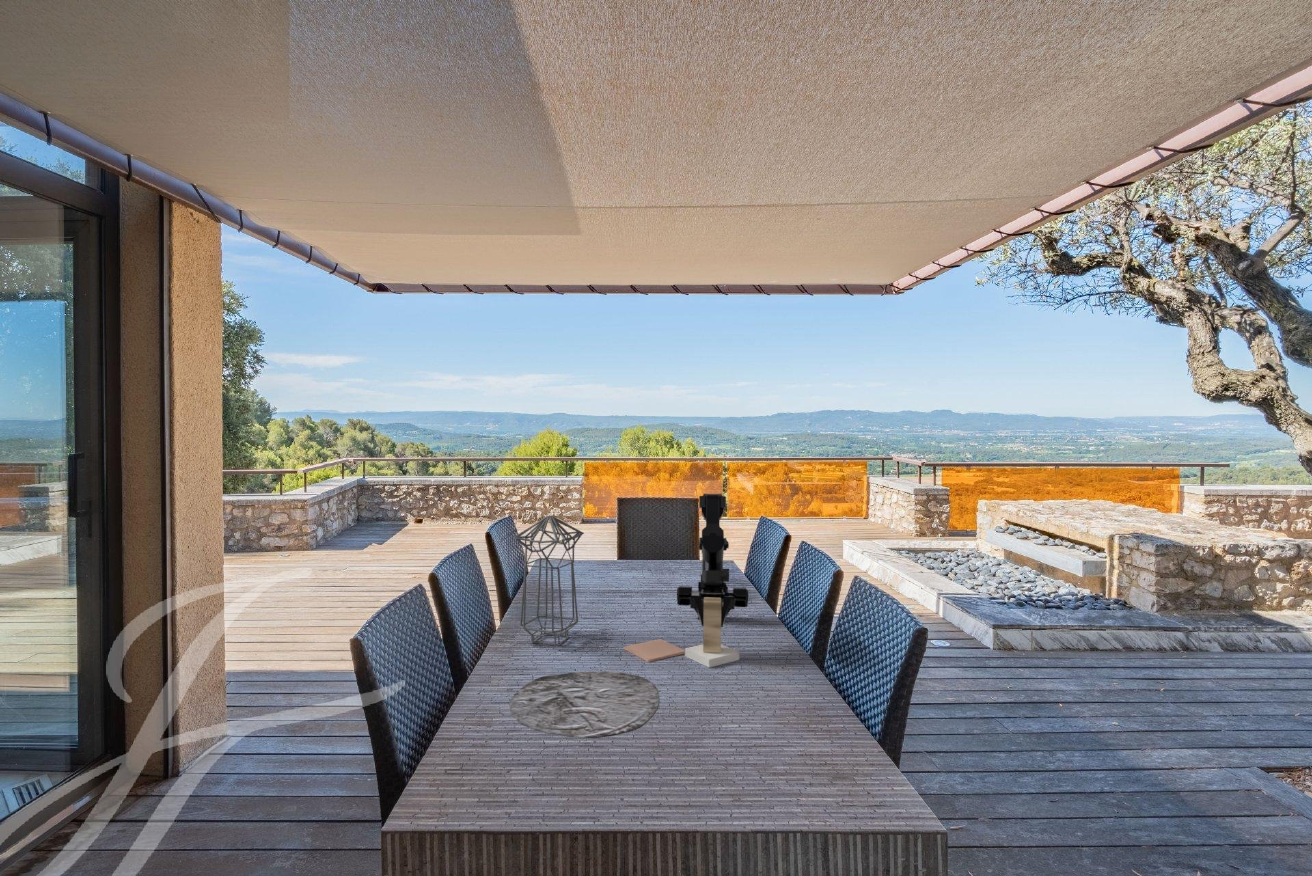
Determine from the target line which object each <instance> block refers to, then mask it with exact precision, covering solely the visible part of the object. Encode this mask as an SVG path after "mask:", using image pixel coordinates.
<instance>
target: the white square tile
mask: <svg viewBox="0 0 1312 876" xmlns="http://www.w3.org/2000/svg"><path fill="white" fill-rule="evenodd" d="M684 650H685V654H684V656H685V657H686V658H688V659H691V660H693V661H695V662H697V663H699V664H701V665H703V666H705V667H707V668H712V667H717V666H720V665H725V664H729V663H733V662H735V661H740V651H738V650H736V649H733V648H731V647H729V646H726V645H724V644H722V643H721V653H713V652H703V644H699V645H695V646H690V647H686V648H684Z"/></svg>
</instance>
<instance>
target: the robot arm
mask: <svg viewBox="0 0 1312 876" xmlns="http://www.w3.org/2000/svg"><path fill="white" fill-rule="evenodd" d="M702 494H703V495H699V496H698V497H699V499H698V501H699V503H698V504H699V505H698V507H699V509H701V516H702V517H703V519H704V521H705V526H704V528H702V530H701V537H700V536H699V539H698V550H699V551H701V554H702V555H701V556H702V557H701V560H702V562H701V574H700V581H698V582H697V583H698V585H697V586H698V589H697V590H695V589H694V590H693V586H684V585H683V586H682V585H681V586H680V585H679V586H678V587H677V588H676V601H677V605H678V606H683V607H684V606H686V607H690V608H691V609H694V611H695V613H696V614H697V618H696V619H697V620H699V622H700V625H701V627H703V624H704V597H714V598H721V628H722V627H724V624H725V622H726V621H727V617H728V615H729V613H730V612H731V610H735V607H736V608H747V607H748V605H749V590H748V588H746V587H733V588H732V592H729V587H728V585H727V584H726V583H729V582H730V569H729V568H724V554H725V553H724V551H727V549H729V548H730V547H729V546H730V545H729V541H728V540H727V537H725V535H724V533H725V532H724V531H725V530H724V529H722V527H720V521H721V519H722V517H723V516H724V513H725V512H724V511H725V510H724V509H727V495H726V496H724V495H723V494H722V493H702Z"/></svg>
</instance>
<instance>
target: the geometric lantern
mask: <svg viewBox="0 0 1312 876" xmlns="http://www.w3.org/2000/svg"><path fill="white" fill-rule="evenodd" d="M548 522H549V523H550V526H551V527H550V528H551V530H547V529H546V528H547V526H548ZM562 525H563V526H565V527H568V528H569V529H571V530H573V531H568V530H566V529H565V528H564V527H563V526H562ZM527 532H528V533H527ZM540 532H541V536H540V538H539V540H535V538H536V537H537V535H538V534H539V533H540ZM526 533H527V534H526ZM524 534H525V535H524ZM550 534H553V535H554V537H552V536H551V535H550ZM572 534H573V535H572ZM584 534H585V533H584V532H583V531H581V530H579V529H578V528H575V527H573V526H572V525H570V524H568V523H566V522H565V521H562V520H561V519H559V518H557V517H555V516H553V515H546V516H545V517H544V518H542V519H540V520H538V521H537V522H535V523H534V524H533V525H531V526H529V527H528V528H526V529H525V530H523V531H521V532H520V533H518V534H516V535H514V537H513V539H514V540H516V542H518V543H519V544H521V546H523V547H524V552H525V553H524V570H523V582H522V584H523V585H522V594H521V608H520V623H519V627H520V629H522V630H524V631H525V632H526V633H527V634H529V635H530V637H531V638H530V642H531V643H532V644H541V645H550V646H559V645H561V644H562V643H564V642H565V641H566V640H568V639H569V638H570V637H569V631H570V630H571V629H572V628H573V627H575V625H577V624H578V623H579V614H578V604H577V603H578V602H577V592H576V591H577V590H576V581H575V579H576V578H575V569H574V566H575V565H574V564H575V547H576V546H575V545H576V544H577V542H579V540H580V539H581V537H582V536H583V535H584ZM544 535H546V536H547V537H548V538H549V539H551V540H543V537H544ZM560 536H561V540H560ZM570 541H572V545H571V544H570ZM527 542H529V544H527ZM534 543H535V544H536V543H537V544H538V548H539V549H536V547H535V546H534ZM546 543H548V544H547V545H546V546H544V547H543V548H542V547H541V544H546ZM549 543H550V544H549ZM557 544H560V545H563V548H564V549H565V551H564V552H563V555H562V556H561V558H554V557H553V558H551V557H550V556H551V554H552V552H553V551H554V549H555V547H556V546H557ZM570 545H571V546H570ZM551 546H552V548H551V550H550V551H549V553H548V554H546V553H545V550H546V549H549V547H551ZM567 546H568V547H567ZM570 550H572V555H571V554H570V552H569V551H570ZM528 551H529V552H530V554H529V556H528ZM533 553H536V554H537V556H538V557H539V558H537V559H534V560H531V561H530V559H531V557H532V554H533ZM540 553H542V555H543V557H542V556H541V554H540ZM566 553H567V554H568V556H569V557H568V558H569V559H566V558H565V556H566ZM550 560H554V561H559V563H558V564H557V566H553V565H552V562H550ZM537 561H539V565H529V564H532V563H535V562H537ZM542 561H545V566H542ZM562 561H568V562H569V563H566V564H563V565H561V562H562ZM548 564H549V566H548ZM560 565H561V566H560ZM569 565H570V571H571V572H570V573H571V577H570V579H571V602H572V603H571V607H572V617H568V616H567V617H566V616H563V609H562V608H563V607H562V591H561V590H562V589H561V576H560V574H561V573H560V571H561V570H560V569H562V568H564V567H566V566H569ZM527 567H528V568H529V567H530V568H538V585H537V587H538V588H537V602H536V603H537V604H536V616H535V617H534V618H532V619H530V620H528V621H526V611H527V610H526V609H527V606H526V603H527V600H526V599H527V569H528V568H527ZM542 569H545V609H544V610H545V615H539V613H540V593H541V578H542V577H541V576H542V573H541V572H542ZM548 569H550V593H551V595H550V596H551V597H550V598H551V599H550V601H551V607H550V608H551V615H548V573H549V572H548ZM553 570H557V584H558V585H557V586H558V599H559V601H558V602H559V615H560V616H556V615H555V616H554V575H553V573H554V571H553ZM542 618H545V620H544V626H543V625H542V623H541V620H540V619H542ZM547 618H549V619H550V618H551V626H546V625H547ZM554 619H558V620H559V619H560V627H554V625H555V623H554V622H555V621H554ZM535 620H537V621H538V624H539V625H540V628H531V627H526V625H528V624H529V623H531V622H533V621H535ZM563 620H571V621H570V623H569V624H568V625H567V626H565V627H564V622H563ZM546 629H547V630H546ZM548 629H549V630H548ZM531 631H533V633H532V632H531ZM538 632H540V634H536V633H538ZM557 633H559V634H557ZM547 635H548V636H547ZM561 637H565V638H564V639H563V640H560V638H561ZM539 638H547V639H548V638H549V639H553V640H554V643H550V642H541V641H535V640H536V639H539Z"/></svg>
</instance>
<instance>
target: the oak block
mask: <svg viewBox="0 0 1312 876" xmlns="http://www.w3.org/2000/svg"><path fill="white" fill-rule="evenodd" d="M702 628H703V631H702V632H703V640H702V642H703V652H713V653H721V644H722V627H721V598H714V597H704V624H703V626H702Z"/></svg>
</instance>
